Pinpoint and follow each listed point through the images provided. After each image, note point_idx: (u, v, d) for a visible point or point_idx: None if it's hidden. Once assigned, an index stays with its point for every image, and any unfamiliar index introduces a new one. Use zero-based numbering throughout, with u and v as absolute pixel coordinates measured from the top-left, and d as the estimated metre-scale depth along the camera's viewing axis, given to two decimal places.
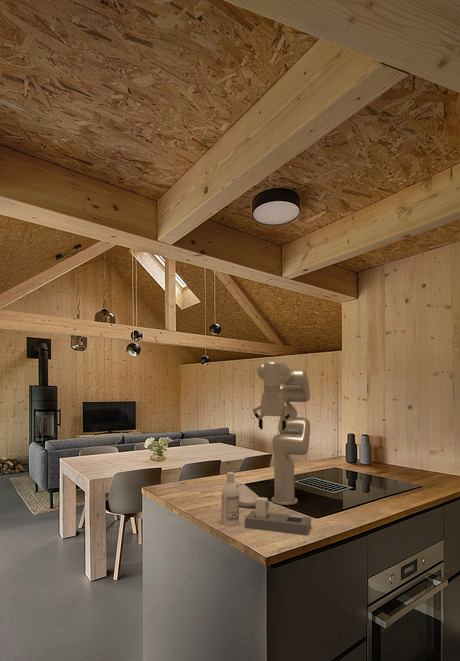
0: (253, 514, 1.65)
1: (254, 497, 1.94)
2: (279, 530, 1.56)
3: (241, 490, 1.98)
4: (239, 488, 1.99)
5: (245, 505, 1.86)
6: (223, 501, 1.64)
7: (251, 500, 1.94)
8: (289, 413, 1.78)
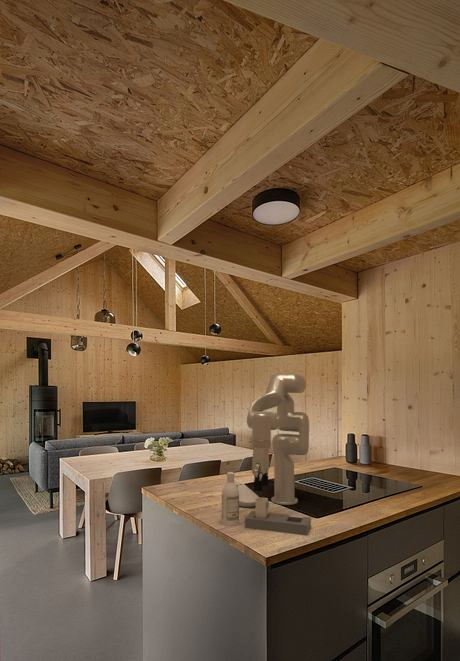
0: (253, 514, 1.65)
1: (254, 497, 1.95)
2: (279, 530, 1.56)
3: (241, 490, 1.99)
4: (239, 488, 1.99)
5: (244, 505, 1.87)
6: (223, 501, 1.64)
7: (251, 500, 1.94)
8: None
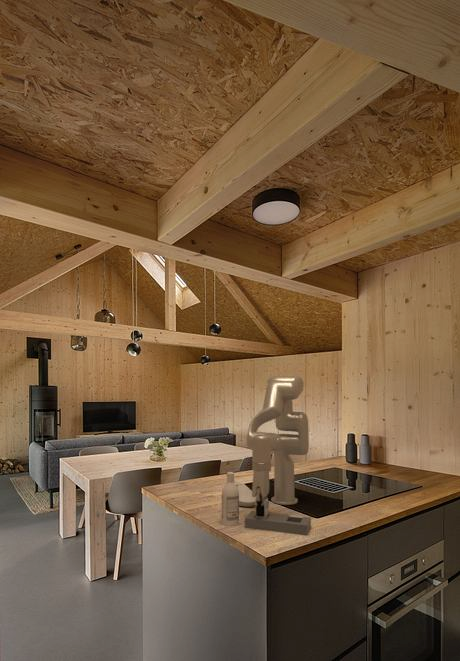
0: (253, 514, 1.65)
1: (253, 497, 1.95)
2: (279, 530, 1.56)
3: (241, 490, 1.99)
4: (239, 488, 2.00)
5: (244, 505, 1.87)
6: (223, 501, 1.64)
7: (250, 500, 1.95)
8: None
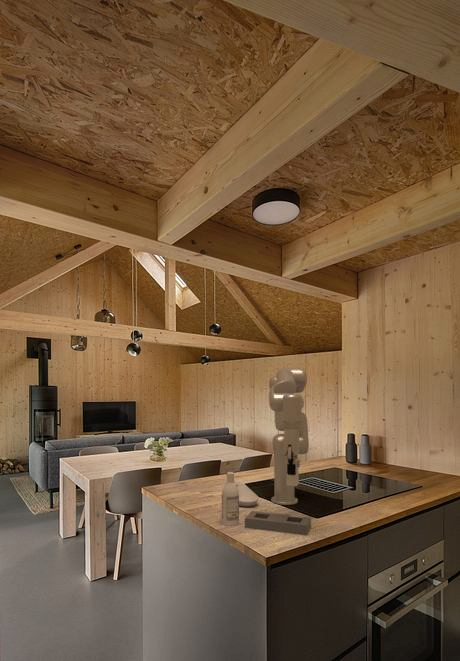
0: (253, 514, 1.65)
1: (253, 496, 1.96)
2: (279, 530, 1.56)
3: (240, 489, 2.00)
4: (238, 487, 2.01)
5: (243, 504, 1.88)
6: (223, 501, 1.64)
7: (250, 499, 1.95)
8: None
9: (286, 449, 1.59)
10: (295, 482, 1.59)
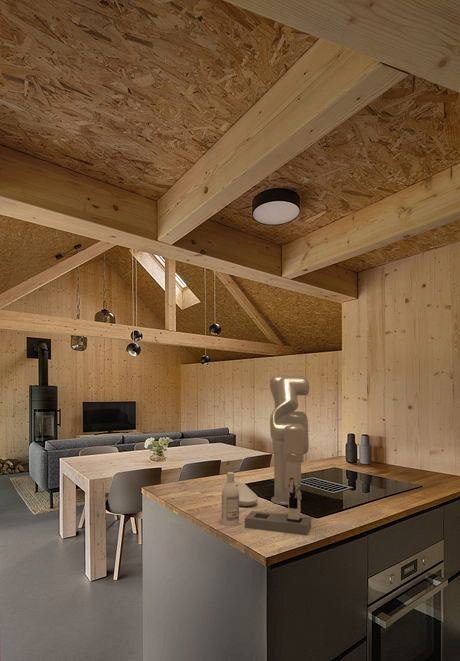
0: (253, 514, 1.65)
1: (253, 496, 1.96)
2: (279, 530, 1.56)
3: (240, 489, 2.00)
4: (238, 487, 2.01)
5: (242, 504, 1.88)
6: (223, 501, 1.64)
7: (250, 499, 1.96)
8: None
9: (288, 482, 1.57)
10: (297, 516, 1.57)
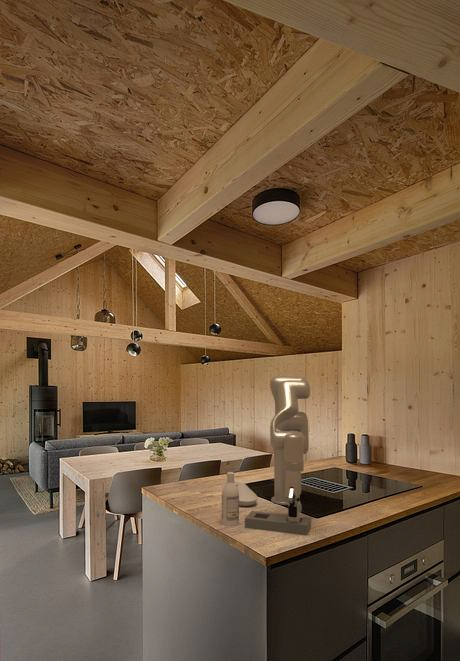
0: (253, 514, 1.65)
1: (252, 496, 1.96)
2: (279, 530, 1.56)
3: (240, 489, 2.01)
4: (238, 487, 2.01)
5: (242, 504, 1.88)
6: (223, 501, 1.64)
7: (249, 499, 1.96)
8: None
9: (288, 491, 1.57)
10: None
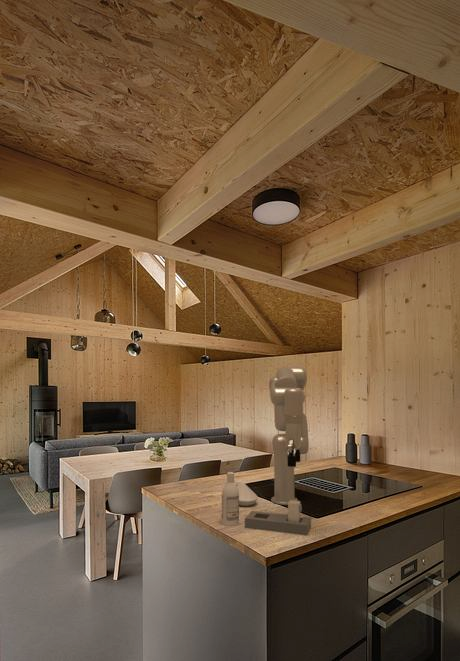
0: (253, 514, 1.65)
1: (252, 496, 1.97)
2: (279, 530, 1.56)
3: (240, 489, 2.01)
4: (238, 487, 2.02)
5: (242, 503, 1.89)
6: (223, 501, 1.64)
7: (249, 499, 1.96)
8: None
9: (288, 443, 1.60)
10: None
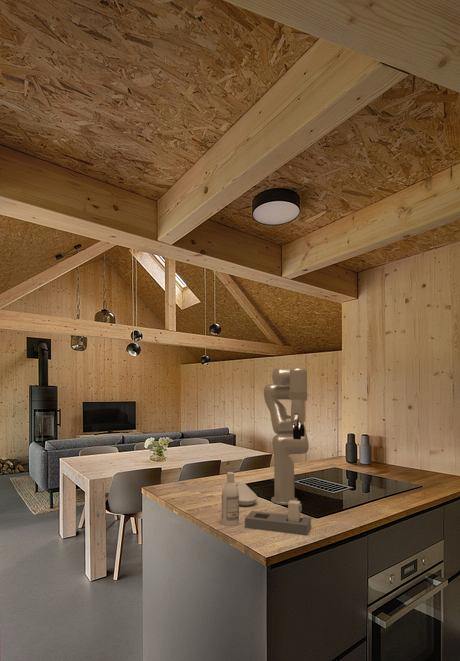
0: (253, 514, 1.65)
1: (252, 496, 1.97)
2: (279, 530, 1.56)
3: (240, 488, 2.02)
4: (238, 486, 2.02)
5: (241, 503, 1.89)
6: (223, 501, 1.64)
7: (249, 499, 1.97)
8: None
9: (293, 417, 1.72)
10: None
